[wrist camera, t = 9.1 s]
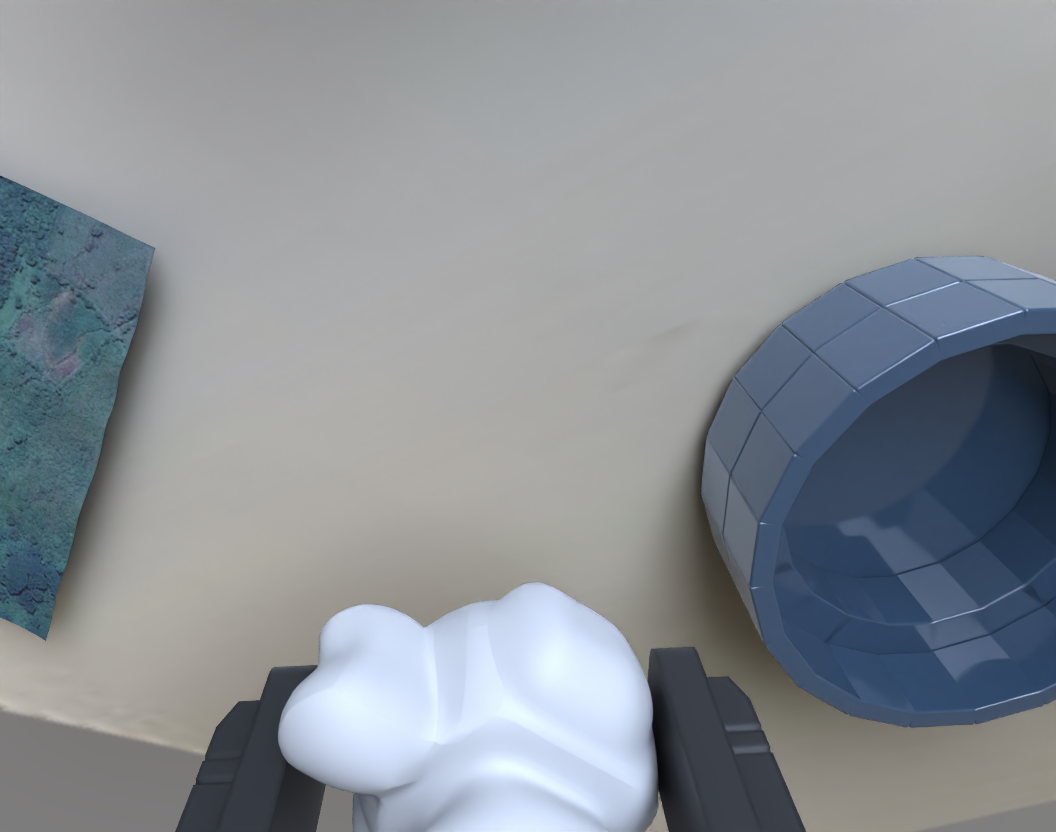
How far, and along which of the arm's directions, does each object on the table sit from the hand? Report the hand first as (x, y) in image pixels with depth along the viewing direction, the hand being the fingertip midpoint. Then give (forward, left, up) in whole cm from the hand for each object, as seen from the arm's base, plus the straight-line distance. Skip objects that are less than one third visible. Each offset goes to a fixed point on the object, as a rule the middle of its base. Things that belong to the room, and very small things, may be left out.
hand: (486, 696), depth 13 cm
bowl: (+1, +12, -10) cm, 16 cm away
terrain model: (-2, -14, -10) cm, 17 cm away
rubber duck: (0, 0, -2) cm, 2 cm away
